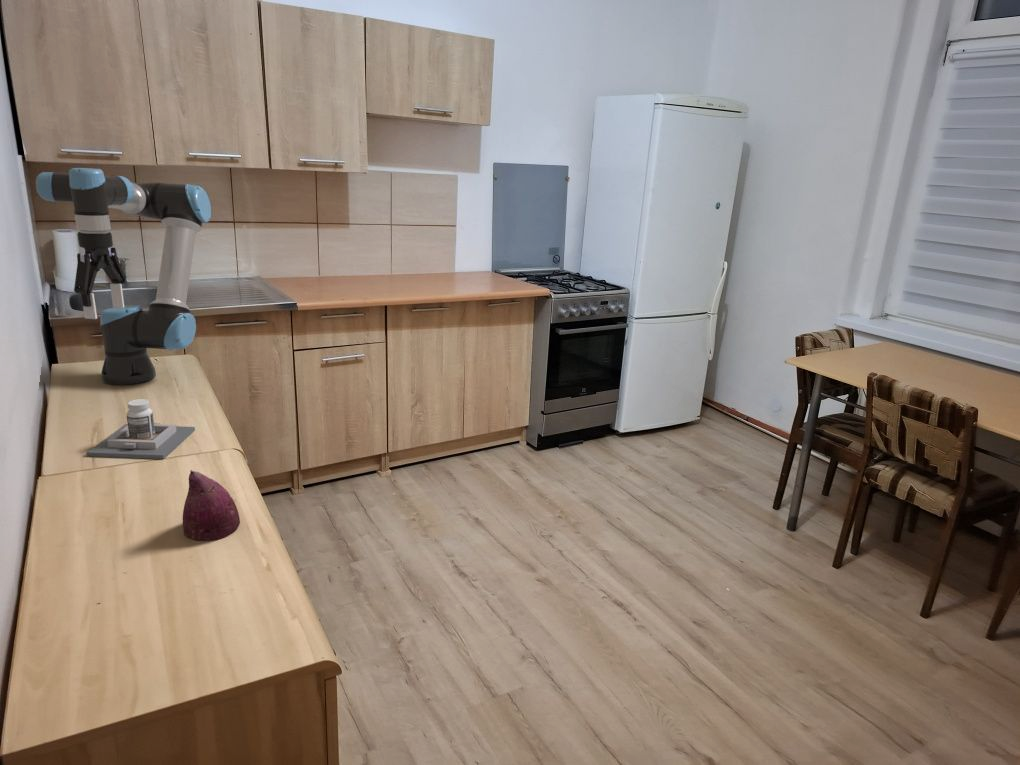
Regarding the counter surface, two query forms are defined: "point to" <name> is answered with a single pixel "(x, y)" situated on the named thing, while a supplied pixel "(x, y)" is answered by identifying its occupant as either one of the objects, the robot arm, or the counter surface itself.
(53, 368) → the counter surface
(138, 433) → the pill bottle
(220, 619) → the counter surface
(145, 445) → the socket
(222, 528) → the vegetable
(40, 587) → the counter surface
